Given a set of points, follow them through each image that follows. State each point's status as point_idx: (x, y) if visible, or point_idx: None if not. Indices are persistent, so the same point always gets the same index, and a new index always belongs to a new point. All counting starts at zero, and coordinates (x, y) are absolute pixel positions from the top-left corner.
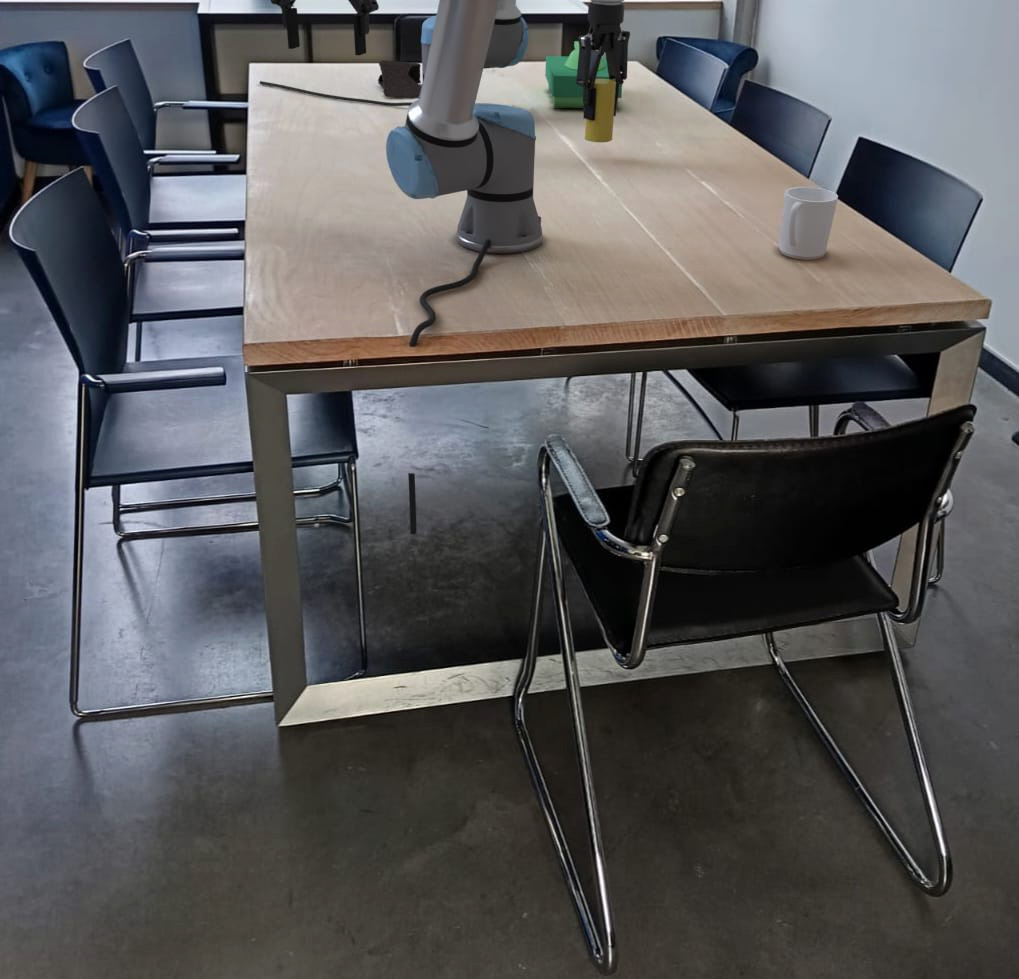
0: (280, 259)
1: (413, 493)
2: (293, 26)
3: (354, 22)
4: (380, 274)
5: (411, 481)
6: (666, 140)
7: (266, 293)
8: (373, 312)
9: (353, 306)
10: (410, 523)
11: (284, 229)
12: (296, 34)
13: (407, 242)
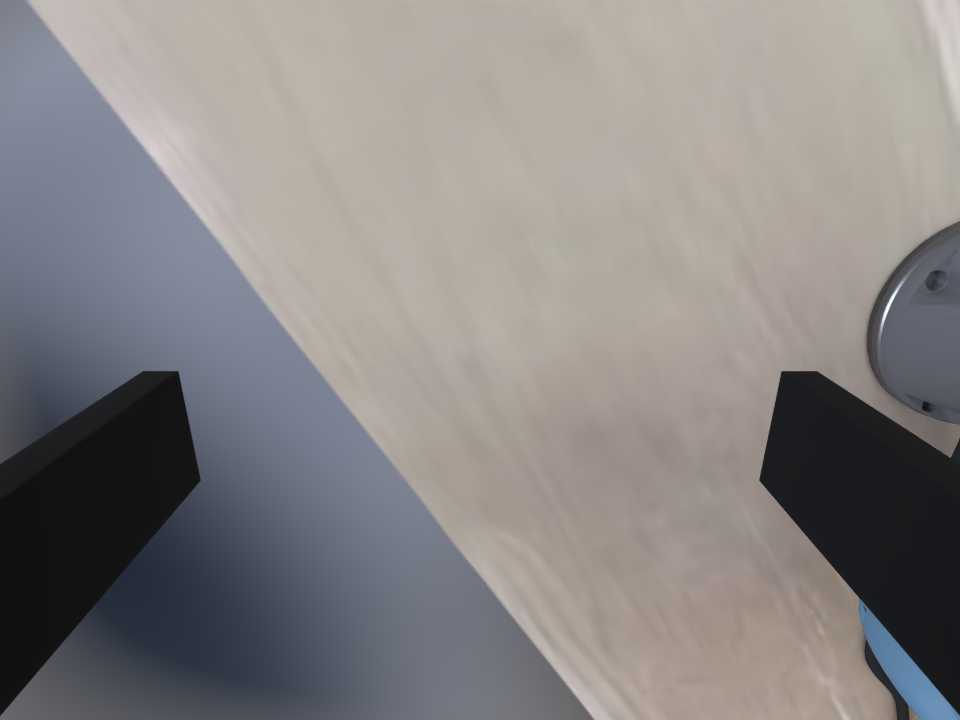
0: (546, 583)
1: None
2: (83, 549)
3: (954, 697)
4: (756, 577)
5: None
6: None
7: (603, 698)
8: (796, 699)
9: (757, 692)
10: None
11: (457, 445)
12: (126, 459)
13: (755, 412)
